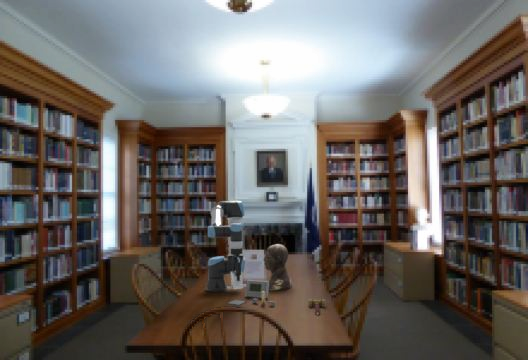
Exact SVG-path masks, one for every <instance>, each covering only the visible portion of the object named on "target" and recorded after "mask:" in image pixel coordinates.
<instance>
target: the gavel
mask: <svg viewBox="0 0 528 360" xmlns="http://www.w3.org/2000/svg"><path fill="white" fill-rule="evenodd" d="M311 307H314V311H315V313H314V314H316V316H319V315H320V313H321V311H320V307H321V308H326V299H323V298H321V299H311V298H308V308H311Z"/></svg>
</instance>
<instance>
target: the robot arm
mask: <svg viewBox="0 0 528 360" xmlns="http://www.w3.org/2000/svg"><path fill="white" fill-rule="evenodd" d="M210 216H211V219H210V220H211V222H210V225H208V226H207V237H208V238H213V239H214V238H228V239H229V242H228V243H229V244H228V246H229V247H228V250H229V252H228V254H227V255H226V256H227V258H226V257H225V256H224V255H220V256H219V255H217V256H213V257H211V258H209V259H208V264H207V266H208V269H207V271H208V272H207V273H208V278H207V281H206V286H205V290H206V291H207V292H212V293H217V292H219V293H220V292H225V291H227V290H228V289H227V286H228V285H227V283H226V279H225V276H226V275H227V276H229V275H230V276H231V272H232V271H234V270H236V275H235V276H236V286H240V275H241V272H242V275H243V274H244V272H245V265H246V257H244V254H243V244H244V242H243V223H241V221H242V220H243V217H245V208H244V204H243V201H242V200H221V201H218V202H216V203H215V204H214V205H213V206H212V207H211V209H210ZM223 217H226V219H227V220H228V225H223Z"/></svg>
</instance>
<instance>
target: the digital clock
mask: <svg viewBox="0 0 528 360" xmlns="http://www.w3.org/2000/svg"><path fill="white" fill-rule="evenodd" d="M261 291H265V299H268V297H269V291H270V290H269V281H268V280H257V279H247V280H246V287H245V293H244V295H245V297H249V298H254V297H255V298H256V299H261Z"/></svg>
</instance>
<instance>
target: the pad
mask: <svg viewBox="0 0 528 360" xmlns="http://www.w3.org/2000/svg"><path fill="white" fill-rule="evenodd" d="M227 304H228V305H233V306H237V307H238V306H241V305H244V304H246V301H243V300H238V299H237V300H236V299H234V300H232V301H229V302H227Z"/></svg>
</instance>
